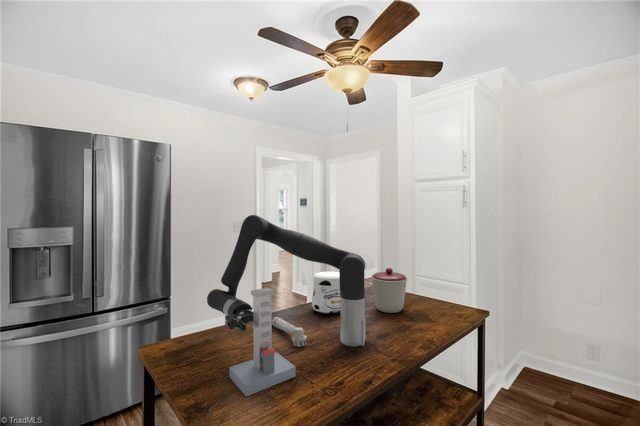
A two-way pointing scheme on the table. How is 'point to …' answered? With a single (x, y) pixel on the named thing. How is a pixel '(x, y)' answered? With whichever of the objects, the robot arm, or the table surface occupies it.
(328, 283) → the milk container
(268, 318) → the column
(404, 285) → the canister
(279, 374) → the stand base
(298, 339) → the toothbrush head
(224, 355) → the table surface
